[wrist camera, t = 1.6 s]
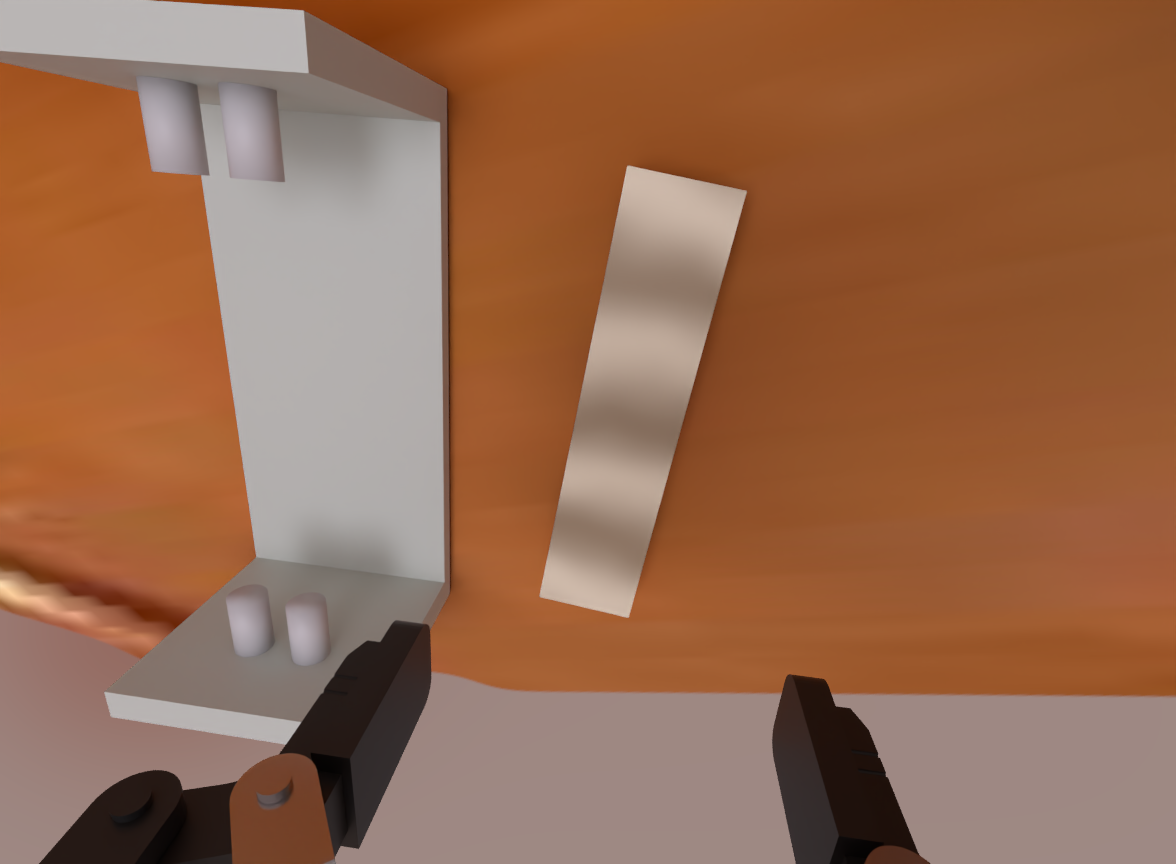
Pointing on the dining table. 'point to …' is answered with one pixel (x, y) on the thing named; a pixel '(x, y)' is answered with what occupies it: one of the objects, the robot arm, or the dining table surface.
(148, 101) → the grey c-shaped frame
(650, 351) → the shelf board
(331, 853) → the robot arm
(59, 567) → the dining table surface
